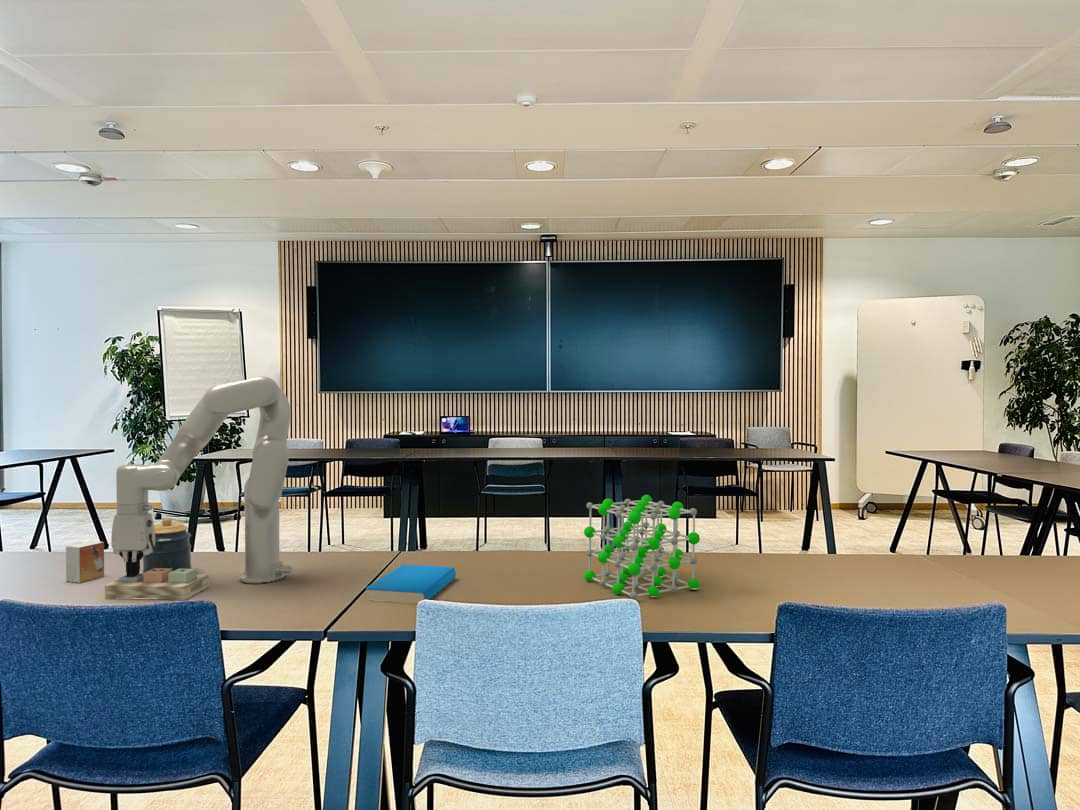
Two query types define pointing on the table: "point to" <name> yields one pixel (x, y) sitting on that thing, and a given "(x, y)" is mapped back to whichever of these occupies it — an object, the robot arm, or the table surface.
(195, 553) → the table surface
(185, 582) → the tile
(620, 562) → the molecular structure model
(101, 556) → the small box
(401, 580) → the book
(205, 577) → the wooden tile tray
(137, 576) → the building block
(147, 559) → the canister
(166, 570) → the orange square block
